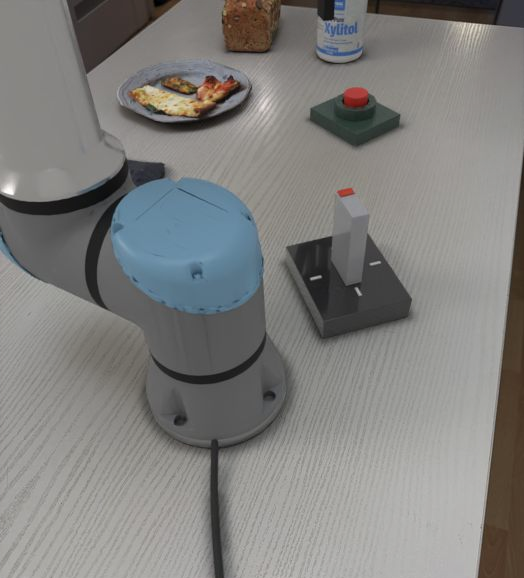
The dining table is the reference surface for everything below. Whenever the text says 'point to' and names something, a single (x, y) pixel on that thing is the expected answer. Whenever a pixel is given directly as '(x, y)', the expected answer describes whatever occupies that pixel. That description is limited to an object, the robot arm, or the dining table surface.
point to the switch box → (355, 119)
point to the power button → (355, 97)
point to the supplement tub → (342, 32)
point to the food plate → (184, 91)
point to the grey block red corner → (349, 236)
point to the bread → (250, 24)
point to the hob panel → (346, 288)
